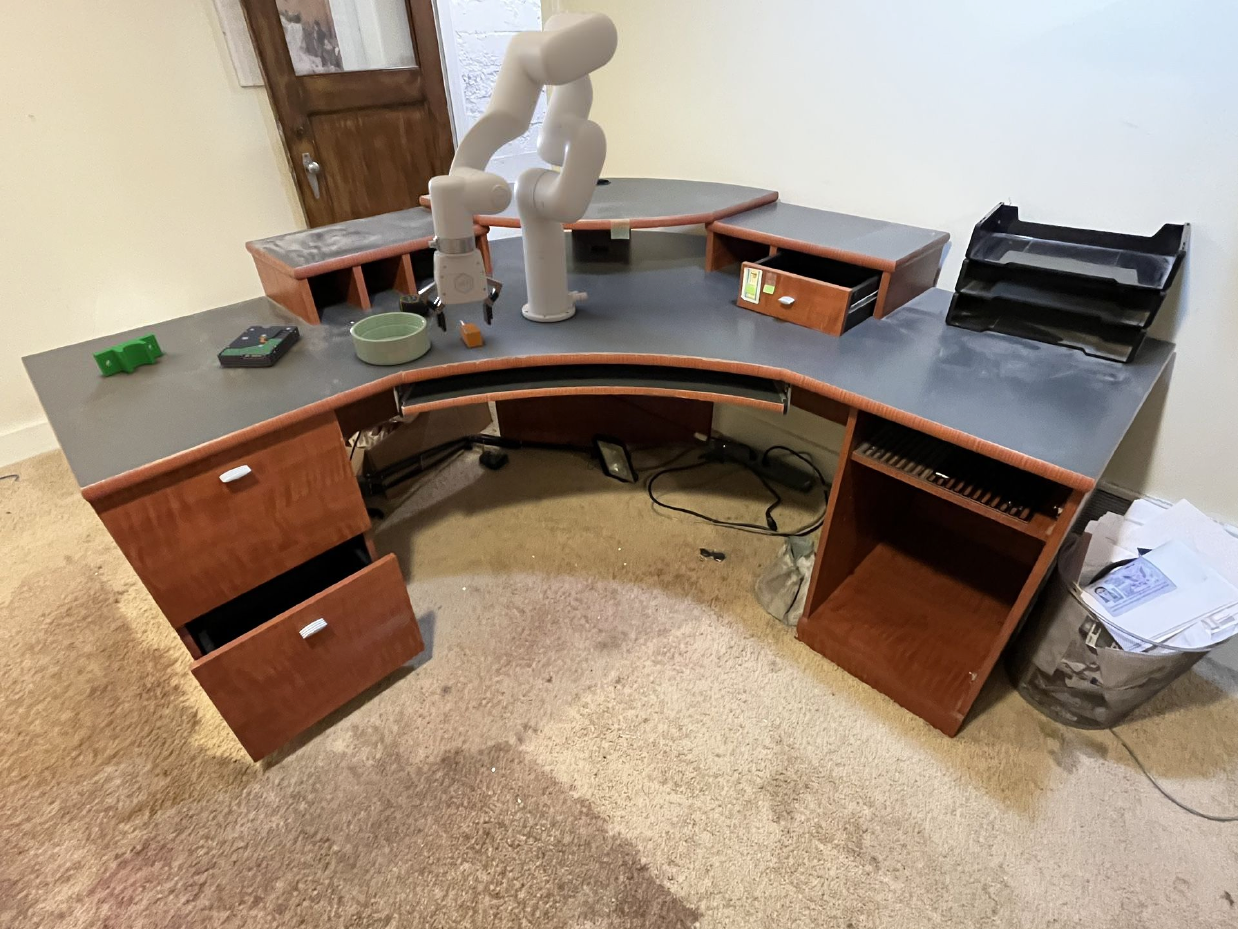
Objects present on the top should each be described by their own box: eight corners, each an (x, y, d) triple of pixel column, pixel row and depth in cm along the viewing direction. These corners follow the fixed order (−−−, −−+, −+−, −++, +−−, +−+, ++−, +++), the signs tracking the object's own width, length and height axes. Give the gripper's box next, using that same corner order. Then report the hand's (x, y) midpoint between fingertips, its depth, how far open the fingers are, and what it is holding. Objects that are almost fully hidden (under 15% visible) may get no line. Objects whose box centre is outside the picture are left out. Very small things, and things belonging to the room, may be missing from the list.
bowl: (422, 331, 139) (417, 307, 136) (438, 357, 128) (433, 332, 125) (352, 343, 134) (346, 319, 131) (362, 372, 123) (356, 347, 120)
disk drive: (254, 337, 137) (220, 367, 125) (250, 325, 135) (215, 354, 123) (301, 337, 137) (272, 366, 125) (297, 325, 135) (268, 354, 123)
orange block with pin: (482, 345, 133) (480, 331, 132) (469, 347, 132) (466, 333, 130) (468, 326, 142) (466, 312, 140) (455, 328, 141) (453, 315, 139)
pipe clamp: (115, 379, 121) (103, 358, 118) (103, 375, 122) (92, 354, 119) (171, 356, 129) (161, 336, 126) (160, 353, 130) (150, 332, 127)
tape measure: (431, 317, 146) (428, 301, 144) (401, 320, 144) (397, 304, 142) (429, 306, 151) (426, 291, 149) (400, 309, 150) (397, 294, 147)
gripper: (415, 253, 117) (429, 338, 127) (503, 244, 124) (510, 326, 133) (407, 243, 122) (421, 326, 132) (492, 235, 129) (499, 314, 139)
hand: (465, 326), depth 133 cm, fingers open, 9 cm apart
